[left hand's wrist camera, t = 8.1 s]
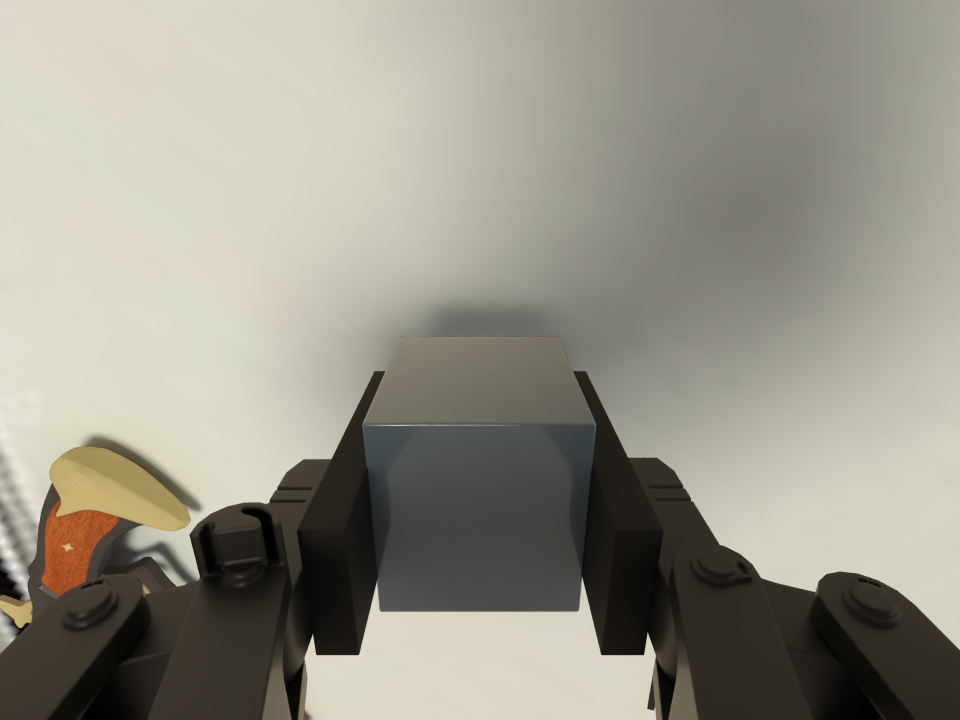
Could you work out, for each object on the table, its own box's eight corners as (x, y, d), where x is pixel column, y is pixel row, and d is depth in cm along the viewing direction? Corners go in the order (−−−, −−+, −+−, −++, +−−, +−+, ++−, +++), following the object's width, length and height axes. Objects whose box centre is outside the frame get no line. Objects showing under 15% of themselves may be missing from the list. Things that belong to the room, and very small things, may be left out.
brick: (400, 336, 14) (361, 423, 9) (558, 336, 14) (596, 423, 9) (408, 479, 16) (378, 612, 11) (550, 478, 16) (579, 612, 11)
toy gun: (63, 454, 19) (-121, 606, 20) (402, 705, 26) (251, 809, 27) (103, 420, 21) (-63, 557, 22) (402, 657, 28) (264, 753, 29)
